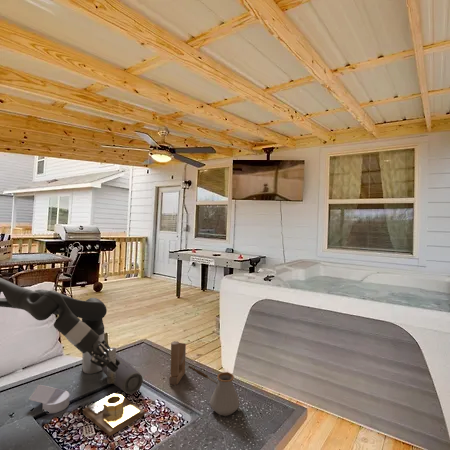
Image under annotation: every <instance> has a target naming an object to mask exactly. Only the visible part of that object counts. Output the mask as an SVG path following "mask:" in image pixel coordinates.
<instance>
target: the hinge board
mask: <svg viewBox="0 0 450 450" xmlns="http://www.w3.org/2000/svg"><path fill="white" fill-rule="evenodd" d="M114 394H119V393H118V392H114ZM130 404H131V405H132V406H134V407H135V408H136V409H138V410H139V411H140V413H139V414H137V415H135V416H134V417H132V418H130V419H129V420H127V421H125V422H124V423H122V424H120V425H119V426H117V427H115V428H114V429H113V428H111V427H110V426H109V425H108V424H107V423H105V422H104V419H105V418H107V417H108V416H106V415H104V414H103V411H102V412H101V413H99V414H97V415H95V414H94V413H93V412H92V411H90V410H89V409H88V408H87V407H85V408H83V409H82V414H83V415H84V416H85V417H87V419H89V420H90V421H91V422H93V424H95V426H97V427H99V429H101V430H102V431H103V432H104V433H105V434H106V435H108V437H111V436H113V435H114V434H117V433H118V432H119V431H121V430H122V429H125V428H126V427H127V426H129V425H131V424H132V423H134V422H135V421H137V420H138V419H140V418H143V416H144V417H145V410H143V409H142V408H141V407H139V406H138V405H137V404H134V403H133V402H131V401H130V400H129V399H127V398H126V397H124V408H125V407H127V406H128V405H130Z"/></svg>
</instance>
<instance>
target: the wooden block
mask: <svg viewBox="0 0 450 450" xmlns="http://www.w3.org/2000/svg"><path fill="white" fill-rule="evenodd" d="M186 345H187V344H186V342H185V343H183V342H179V341H177V340H175V341H172V342H171V343H170V375H169V376H168V377H169V383H168V384H169V385H172V386H177V385H178V384H179V383H180V381H181V380H182V378H183V376H185V373H186V351H187V350H186V348H187V347H186Z"/></svg>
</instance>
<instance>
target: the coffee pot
mask: <svg viewBox="0 0 450 450" xmlns="http://www.w3.org/2000/svg"><path fill="white" fill-rule="evenodd" d="M189 369H191V371H192V372H195V373H196V374H198V375H199V376H202V377H203V378H205V379H208V380H210V381H211V382H213V383H214V384H216V387H215V388H214V391H213V393H212V395H211V397H210V400H209V403H210V404H209V405H210V407H211V409H212V410H213V411H214V412H215V413H216V414H218V415H220V416H225V417H227V416H231V415H232V414H233V413H235V412H236V411H237V410H238V408H239V406H240V398H239V396H238V394H237V390H236V388H235V386H234V384H233V381H234V378H235V376H234V374H233V373H231V372H229V371H224V372H220V373H218V374H217V376H216V377H217V380H218V381H217V380H216V379H214V378H212V377H210V376H208V375H207V374H206V373H204V372H202V371H201V370H199V369H197V368H195V367H192V366H191V365H188V367H187V369H186V371H188V370H189Z"/></svg>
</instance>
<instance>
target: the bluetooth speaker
mask: <svg viewBox="0 0 450 450" xmlns="http://www.w3.org/2000/svg"><path fill="white" fill-rule="evenodd" d="M116 359H117V360H119V361H120V364H119V365H118V369H117V370H116V381H115V382H114V383H113V385H115V386H116V387H118V388H119V389H120V390H121V391H122V392H124V393H125V394H128V395H131V394H135V393H136V392H138V391H139V390H140V389H141V387H142V384H143V381H144V379H143V376H142V374H141V373H140V372H139V370H137V369H136V368H135V367H134V366H133V365H131V364H130V363H129V362H128V361H126V360H125V359H124V358H123V357H121V356H119V355H117V354H116ZM105 360H106V359H105ZM101 369H102V370H101V371H102V372H103V373H104V374H105V376H106V377H107V366H106V367H104V368H102V367H101Z"/></svg>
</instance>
